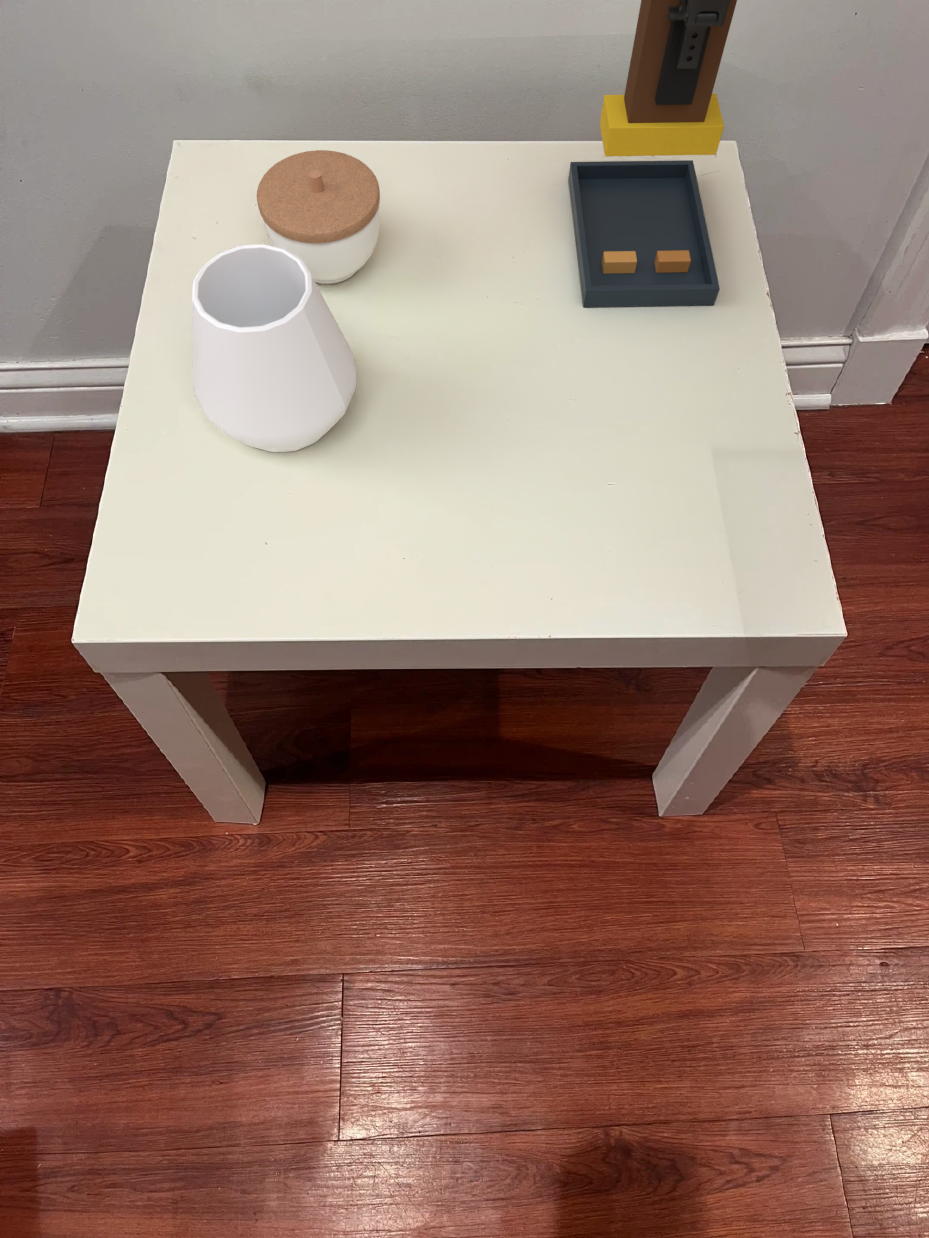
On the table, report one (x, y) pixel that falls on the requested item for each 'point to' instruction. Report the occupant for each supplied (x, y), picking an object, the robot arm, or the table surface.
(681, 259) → the crumb
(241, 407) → the white vase
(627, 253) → the crumb
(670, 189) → the tray
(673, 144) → the brush
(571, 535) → the table surface
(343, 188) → the trinket box
